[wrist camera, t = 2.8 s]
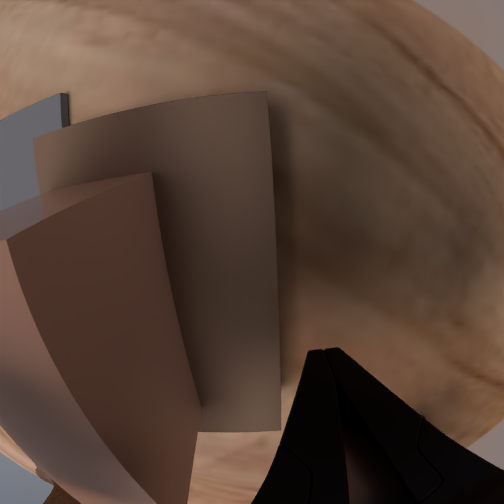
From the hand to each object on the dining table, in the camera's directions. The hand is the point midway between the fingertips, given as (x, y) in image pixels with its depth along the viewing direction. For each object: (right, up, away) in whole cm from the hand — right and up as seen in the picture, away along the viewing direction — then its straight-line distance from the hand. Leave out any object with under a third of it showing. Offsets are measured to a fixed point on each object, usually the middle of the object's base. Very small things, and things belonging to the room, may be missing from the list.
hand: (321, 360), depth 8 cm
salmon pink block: (-6, 0, +3) cm, 7 cm away
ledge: (-5, +2, +5) cm, 7 cm away
